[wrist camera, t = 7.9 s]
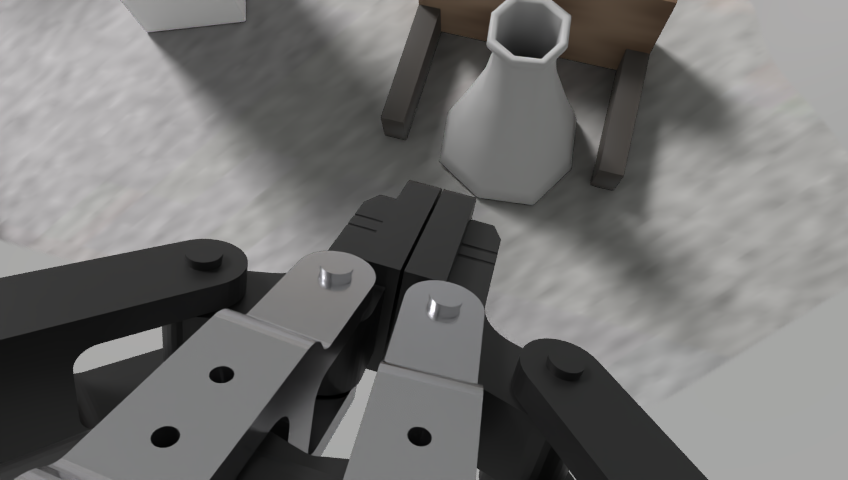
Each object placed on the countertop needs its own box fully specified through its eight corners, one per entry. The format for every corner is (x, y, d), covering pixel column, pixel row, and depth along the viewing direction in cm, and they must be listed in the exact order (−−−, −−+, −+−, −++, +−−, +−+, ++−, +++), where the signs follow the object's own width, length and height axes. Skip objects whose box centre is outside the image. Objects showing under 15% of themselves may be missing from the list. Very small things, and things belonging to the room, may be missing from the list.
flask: (541, 229, 31) (578, 144, 22) (416, 170, 33) (400, 66, 23) (597, 115, 33) (656, -10, 23) (477, 63, 34) (486, -76, 25)
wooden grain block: (385, 134, 33) (370, 75, 27) (432, -9, 36) (428, -92, 30) (613, 190, 32) (648, 139, 26) (646, 36, 34) (685, -42, 28)
